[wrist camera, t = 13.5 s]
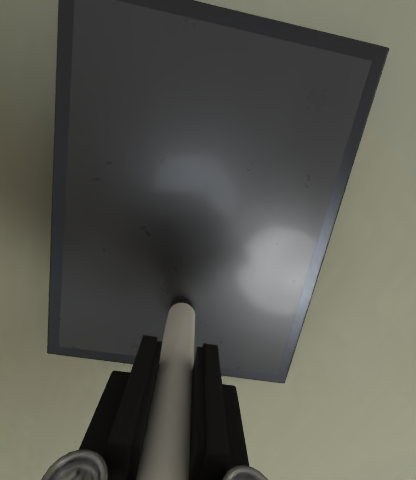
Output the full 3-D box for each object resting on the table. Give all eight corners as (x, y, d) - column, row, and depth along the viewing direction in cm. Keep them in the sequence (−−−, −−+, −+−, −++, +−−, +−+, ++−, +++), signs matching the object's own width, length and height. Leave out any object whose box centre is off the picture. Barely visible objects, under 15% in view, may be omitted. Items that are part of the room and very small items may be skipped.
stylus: (167, 319, 14) (104, 625, 5) (171, 296, 14) (110, 576, 4) (192, 323, 15) (181, 628, 5) (197, 300, 14) (193, 581, 5)
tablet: (54, 344, 16) (45, 355, 15) (68, -20, 11) (57, -36, 10) (280, 374, 17) (285, 385, 16) (378, 54, 12) (392, 46, 11)
